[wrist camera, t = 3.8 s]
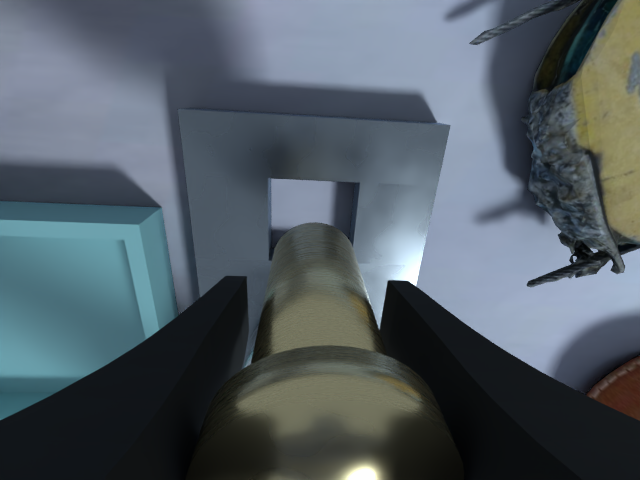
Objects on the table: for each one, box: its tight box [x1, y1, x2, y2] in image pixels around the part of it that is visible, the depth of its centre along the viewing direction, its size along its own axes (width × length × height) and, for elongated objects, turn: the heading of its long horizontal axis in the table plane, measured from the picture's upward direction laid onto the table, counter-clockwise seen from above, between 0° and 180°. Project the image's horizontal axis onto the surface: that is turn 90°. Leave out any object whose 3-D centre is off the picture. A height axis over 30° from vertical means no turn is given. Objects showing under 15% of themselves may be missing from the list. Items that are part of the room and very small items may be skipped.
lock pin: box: [185, 223, 464, 480], centre depth 9 cm, size 4×4×8 cm
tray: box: [0, 201, 178, 420], centre depth 18 cm, size 14×14×2 cm
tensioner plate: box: [178, 108, 450, 369], centre depth 16 cm, size 18×12×5 cm, turn 177°
